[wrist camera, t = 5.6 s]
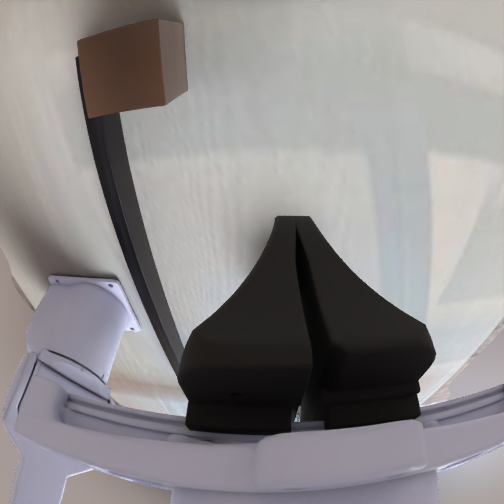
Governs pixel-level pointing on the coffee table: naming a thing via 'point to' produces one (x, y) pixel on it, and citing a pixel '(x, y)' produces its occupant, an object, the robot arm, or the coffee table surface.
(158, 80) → the block walnut
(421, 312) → the coffee table surface
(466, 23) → the coffee table surface
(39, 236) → the coffee table surface
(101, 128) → the straightedge
